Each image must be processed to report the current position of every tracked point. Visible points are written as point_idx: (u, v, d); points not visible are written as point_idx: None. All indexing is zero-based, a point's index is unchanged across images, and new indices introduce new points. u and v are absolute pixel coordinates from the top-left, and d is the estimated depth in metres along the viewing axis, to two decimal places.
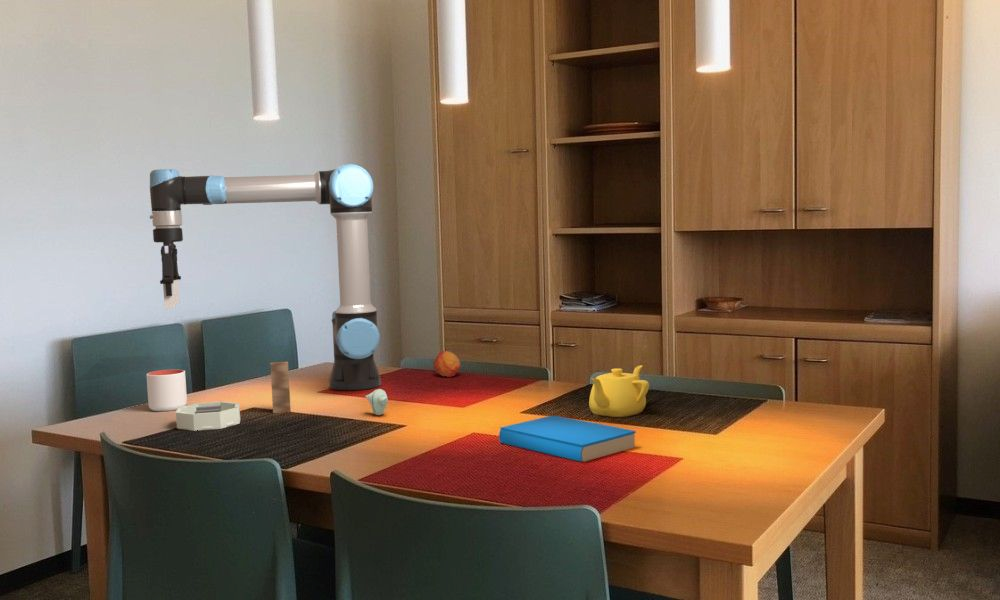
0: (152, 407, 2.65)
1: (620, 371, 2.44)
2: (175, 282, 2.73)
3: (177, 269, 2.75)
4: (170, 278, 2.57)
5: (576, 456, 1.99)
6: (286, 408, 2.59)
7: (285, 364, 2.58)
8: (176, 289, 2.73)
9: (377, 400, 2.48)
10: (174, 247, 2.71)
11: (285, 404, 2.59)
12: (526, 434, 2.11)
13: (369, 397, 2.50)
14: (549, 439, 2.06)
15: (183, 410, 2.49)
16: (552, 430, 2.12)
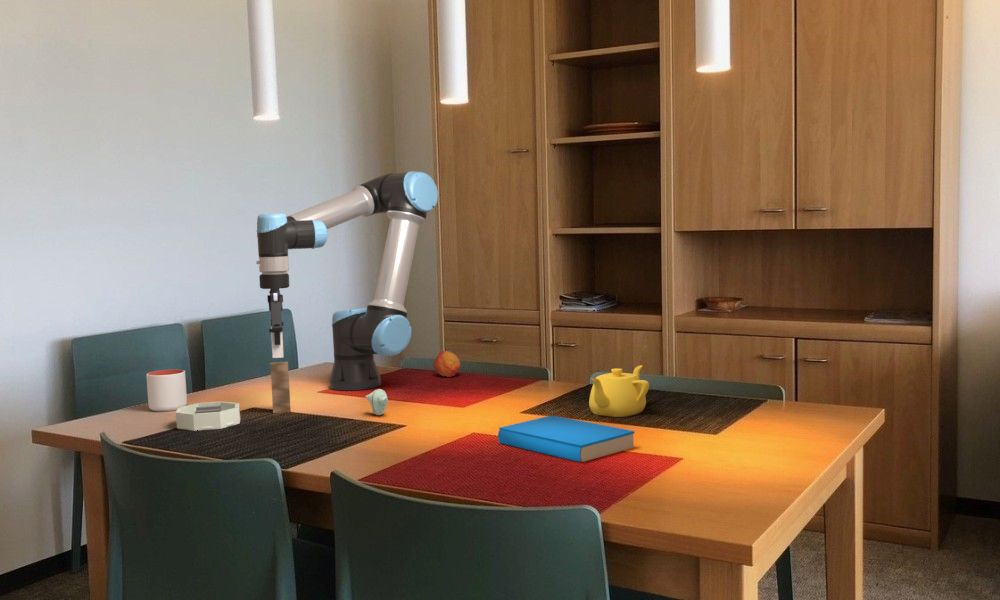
0: (152, 407, 2.65)
1: (620, 371, 2.44)
2: None
3: None
4: (280, 327, 2.48)
5: (575, 456, 1.99)
6: (286, 408, 2.59)
7: (285, 364, 2.58)
8: None
9: (377, 400, 2.48)
10: (278, 293, 2.63)
11: (285, 404, 2.59)
12: (525, 434, 2.11)
13: (369, 397, 2.50)
14: (548, 439, 2.05)
15: (183, 410, 2.49)
16: (551, 430, 2.12)
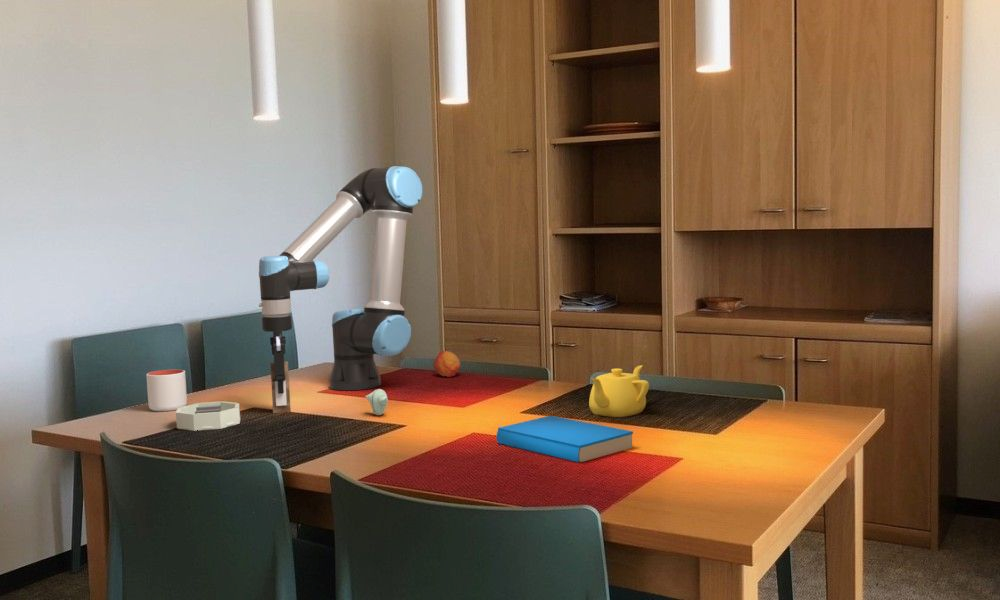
0: (152, 407, 2.65)
1: (620, 371, 2.44)
2: None
3: None
4: (283, 377, 2.54)
5: (574, 457, 1.99)
6: (286, 408, 2.59)
7: (285, 364, 2.58)
8: None
9: (377, 400, 2.48)
10: None
11: None
12: (523, 434, 2.11)
13: (369, 397, 2.50)
14: (546, 440, 2.05)
15: (183, 410, 2.49)
16: (549, 430, 2.12)
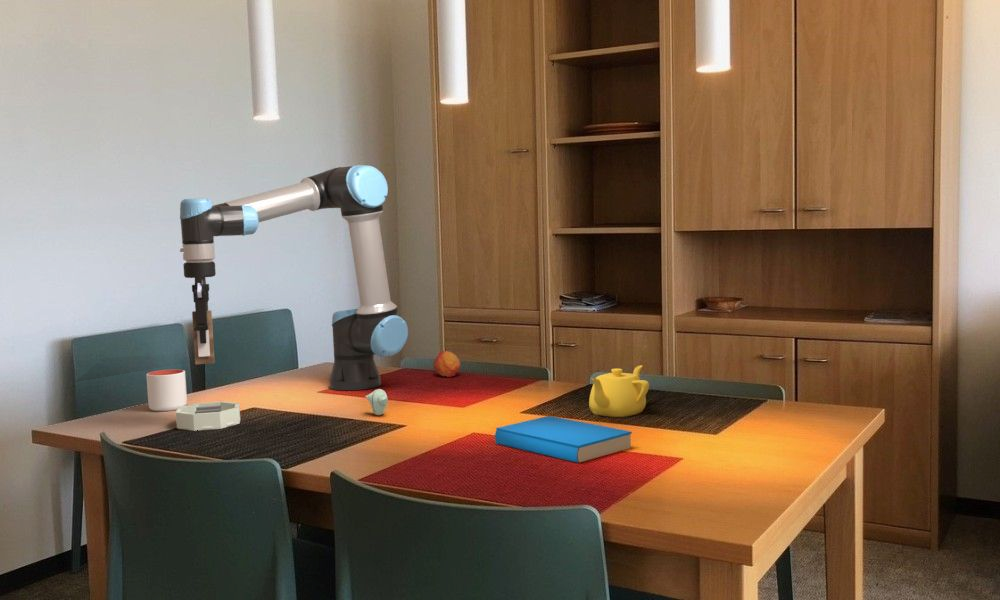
0: (152, 407, 2.65)
1: (620, 371, 2.44)
2: None
3: None
4: (205, 326, 2.41)
5: (572, 457, 1.99)
6: (209, 359, 2.45)
7: (208, 313, 2.44)
8: None
9: (377, 400, 2.48)
10: None
11: None
12: (522, 435, 2.10)
13: (369, 397, 2.50)
14: (545, 440, 2.05)
15: (183, 410, 2.49)
16: (548, 431, 2.12)
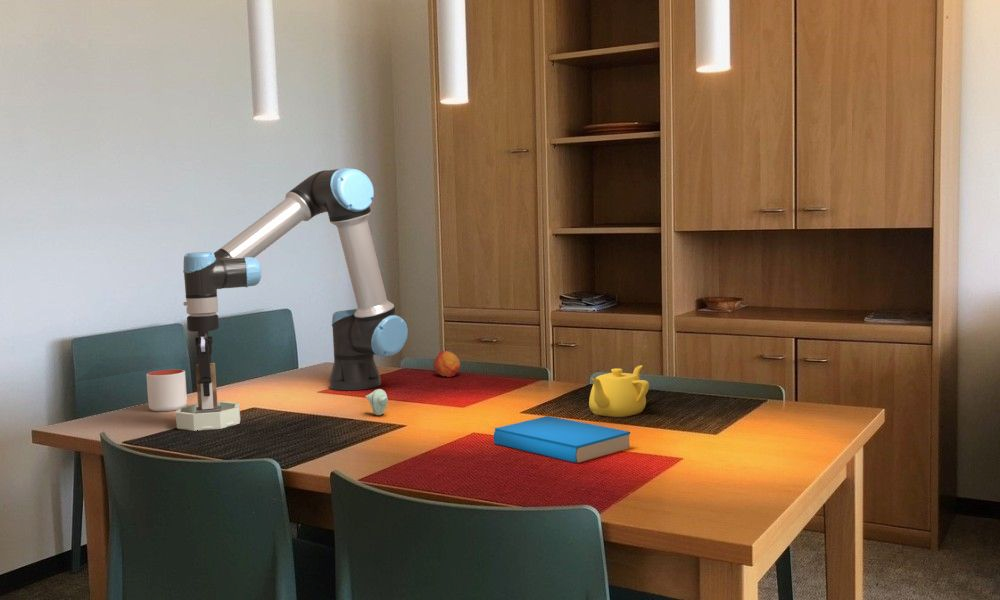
0: (152, 407, 2.65)
1: (620, 371, 2.44)
2: None
3: None
4: (208, 380, 2.42)
5: (571, 457, 1.99)
6: None
7: (211, 365, 2.46)
8: None
9: (377, 400, 2.48)
10: None
11: None
12: (520, 435, 2.10)
13: (369, 397, 2.50)
14: (544, 440, 2.05)
15: (183, 410, 2.49)
16: (547, 431, 2.12)
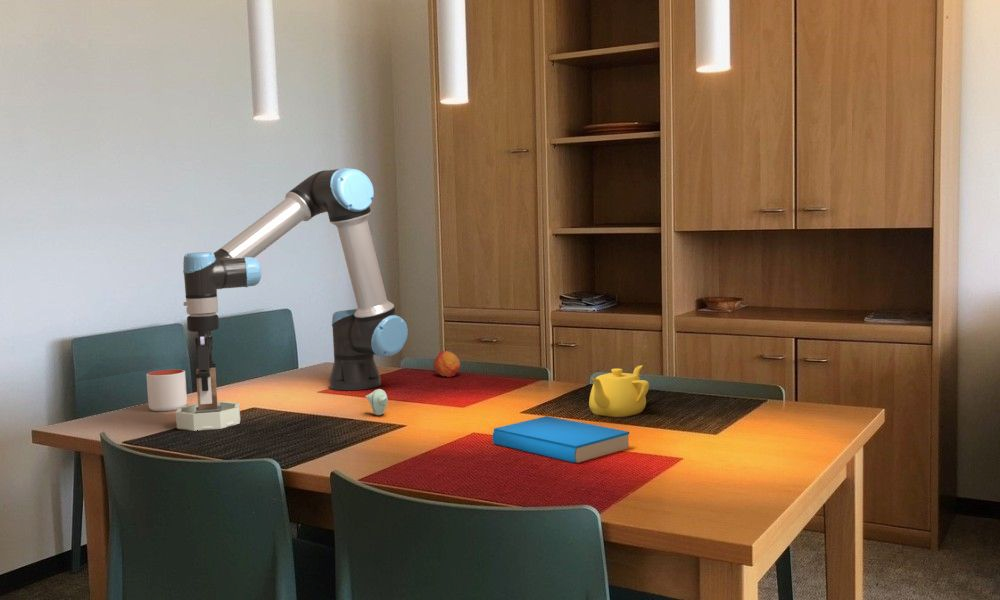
0: (152, 407, 2.65)
1: (620, 371, 2.44)
2: None
3: None
4: (207, 373, 2.37)
5: (570, 457, 1.99)
6: None
7: (212, 370, 2.46)
8: None
9: (377, 400, 2.48)
10: (209, 334, 2.52)
11: None
12: (520, 435, 2.10)
13: (369, 397, 2.50)
14: (543, 440, 2.05)
15: (183, 410, 2.49)
16: (546, 431, 2.12)
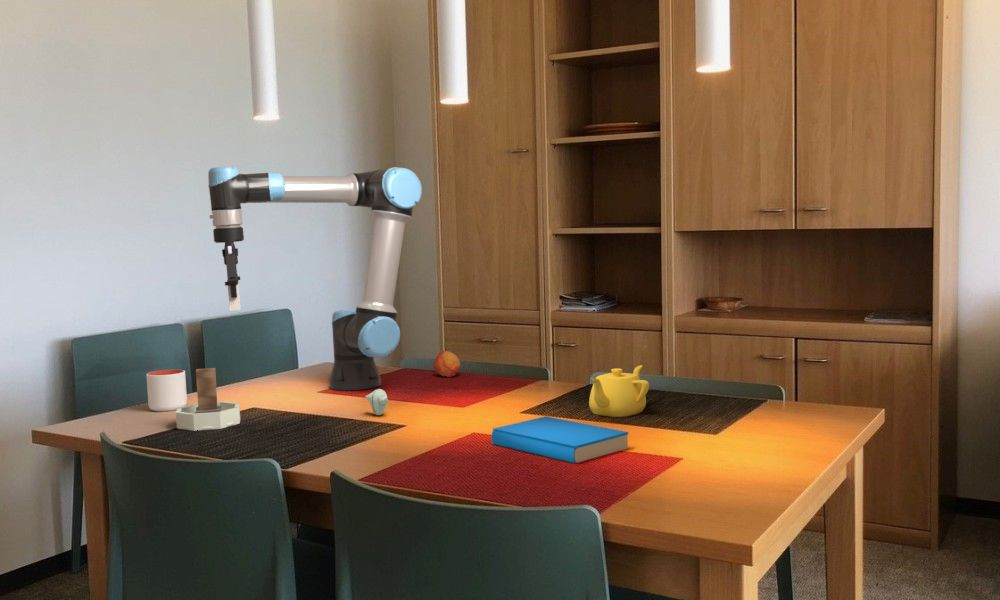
0: (152, 407, 2.65)
1: (620, 371, 2.44)
2: None
3: None
4: (235, 279, 2.49)
5: (569, 457, 1.99)
6: None
7: (211, 371, 2.46)
8: None
9: (377, 400, 2.48)
10: None
11: None
12: (519, 435, 2.10)
13: (369, 397, 2.50)
14: (542, 440, 2.05)
15: (183, 410, 2.49)
16: (545, 431, 2.12)
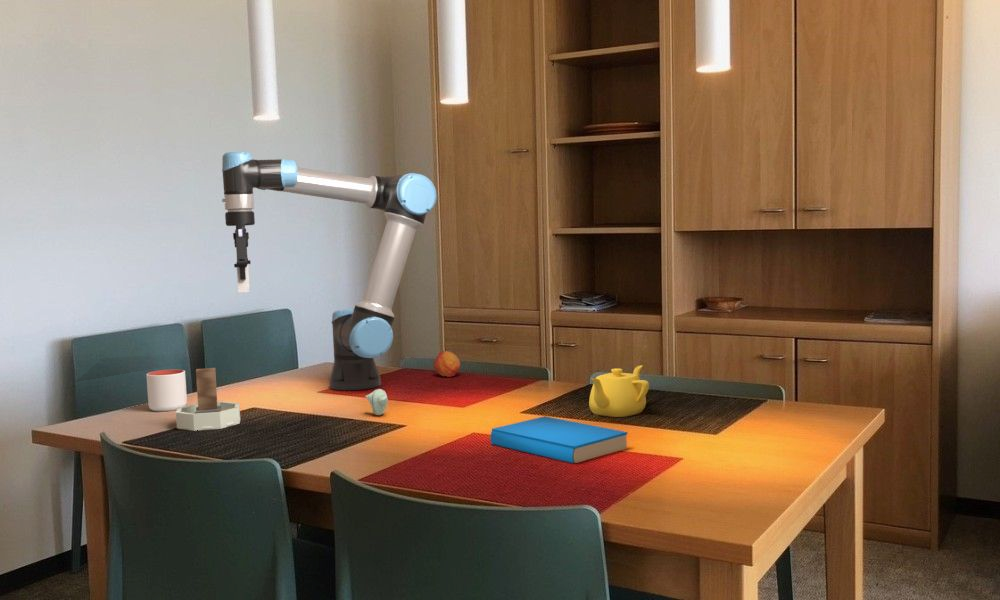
0: (152, 407, 2.65)
1: (620, 371, 2.44)
2: None
3: None
4: (245, 261, 2.54)
5: (568, 458, 1.99)
6: None
7: (211, 371, 2.46)
8: None
9: (377, 400, 2.48)
10: None
11: None
12: (518, 435, 2.10)
13: (369, 397, 2.50)
14: (541, 440, 2.05)
15: (183, 410, 2.49)
16: (544, 431, 2.11)
